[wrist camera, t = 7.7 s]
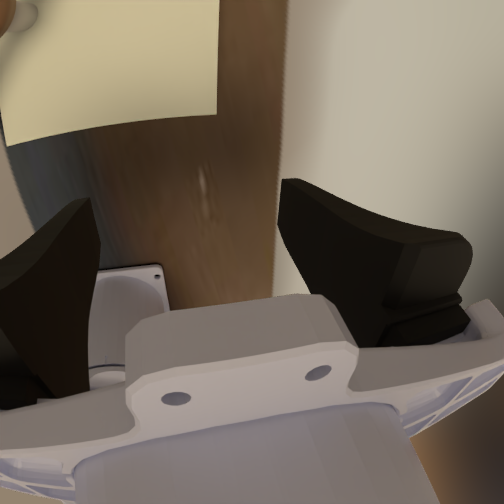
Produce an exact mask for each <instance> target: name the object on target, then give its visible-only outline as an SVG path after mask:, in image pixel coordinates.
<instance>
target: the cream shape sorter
mask: <svg viewBox="0 0 504 504" xmlns="http://www.w3.org/2000/svg"><path fill="white" fill-rule="evenodd" d="M218 25H219V0H16V11H15V15H14V18H13V20H12V23H11V25H10V26H9V28H8V30H7V31H6V32H5V34H4V35H3V36H2V37H1V38H0V110H1V117H2V123H3V128H4V134H5V139H6V144H7V146H10V145H14V144H18V143H22V142H26V141H30V140H34V139H38V138H43V137H47V136H51V135H56V134H61V133H66V132H71V131H76V130H82V129H87V128H93V127H99V126H105V125H112V124H119V123H126V122H134V121H142V120H151V119H160V118H171V117H183V116H197V115H215V114H217V59H218Z"/></svg>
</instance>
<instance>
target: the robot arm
mask: <svg viewBox="0 0 504 504" xmlns="http://www.w3.org/2000/svg"><path fill="white" fill-rule="evenodd" d="M277 225H278V228H279V231H280V233H281V237H282V239H283V242H284V244H285V246H286V248H287V250H288V252H289V254H290V256H291V257H292V259H293V261H294V263H295V265H296V267H297V268H298V270H299V272H300V274H301V276H302V278H303V280H304V281H305V283H306V285H307V287H308V289H309V291H310V293H311V294H290V295H284V296H277V297H271V298H264V299H257V300H250V301H243V302H236V303H229V304H221V305H214V306H206V307H198V308H190V309H182V310H174V311H170V307H169V302H168V297H167V291H166V286H165V280H164V274H163V269H162V267H161V266H160V265H156V264H155V265H146V266H138V267H129V268H120V269H111V270H102V271H98V268H99V261H100V248H101V242H100V238H99V234H98V231H97V226H96V222H95V218H94V214H93V210H92V205H91V201H90V198H83V199H77V200H74V201H72V202H71V203H69V204H68V205H67V206H65V207H64V208H63V209H62V210H61V211H60V212H58V213H57V214H56V215H55V216H54V217H53V218H52V219H51V220H49V221H48V222H47V223H46V224H45V225H44V226H43V227H41V228H40V229H39V230H38V231H37V232H36V233H34V234H33V235H32V236H31V237H30V238H29V239H27V240H26V241H25V242H24V243H23V244H21V245H20V246H19V247H17V248H16V249H15V250H13V251H12V252H10V253H9V254H8V255H6V256H5V257H3V258H2V259H0V487H3V488H7V489H11V490H15V491H19V492H23V493H27V494H32V495H36V496H41V497H46V498H52V499H57V500H60V501H61V502H63V503H64V504H440V503H439V500H438V498H437V496H436V494H435V492H434V490H433V487H432V485H431V483H430V481H429V479H428V477H427V475H426V473H425V471H424V468H423V466H422V464H421V462H420V460H419V458H418V456H417V454H416V452H415V450H414V448H413V446H412V444H411V442H410V440H409V438H410V437H412V436H414V435H416V434H417V433H419V432H421V431H423V430H424V429H426V428H428V427H430V426H431V425H433V424H435V423H436V422H438V421H439V420H441V419H443V418H444V417H446V416H448V415H449V414H451V413H452V412H454V411H456V410H457V409H459V408H460V407H462V406H463V405H465V404H467V403H468V402H470V401H471V400H473V399H474V398H476V397H477V396H479V395H480V394H482V393H483V392H485V391H486V390H488V389H489V388H490V387H491V386H492V385H493V384H494V383H495V382H496V381H497V380H498V379H499V378H500V377H501V376H502V375H503V373H504V317H503V316H502V315H501V314H500V312H499V311H498V310H497V309H496V307H495V306H494V305H493V304H492V303H491V302H490V300H489V299H485V300H483V301H480V302H477V303H475V304H472V305H470V306H469V307H467V308H466V309H465V310H463V309H462V308H461V306H460V305H459V304H460V303H461V302H462V297H461V296H460V295H459V294H458V293H457V291H458V289H459V287H460V286H461V284H462V282H463V280H464V278H465V276H466V274H467V272H468V270H469V267H470V265H471V261H472V256H473V252H472V246H471V244H470V243H469V242H468V241H467V240H466V239H465V238H464V237H463V236H462V235H461V234H459V233H457V232H451V231H444V230H438V229H432V228H427V227H422V226H417V225H413V224H409V223H405V222H401V221H398V220H395V219H391V218H388V217H385V216H381V215H379V214H376V213H374V212H371V211H368V210H366V209H363V208H361V207H358V206H356V205H354V204H352V203H350V202H347V201H345V200H343V199H341V198H339V197H336V196H335V195H333V194H331V193H329V192H327V191H325V190H323V189H321V188H319V187H317V186H315V185H313V184H310V183H308V182H306V181H304V180H301V179H298V178H294V179H293V178H291V179H282V182H281V192H280V202H279V213H278V223H277ZM155 275H160V276H155Z"/></svg>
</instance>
